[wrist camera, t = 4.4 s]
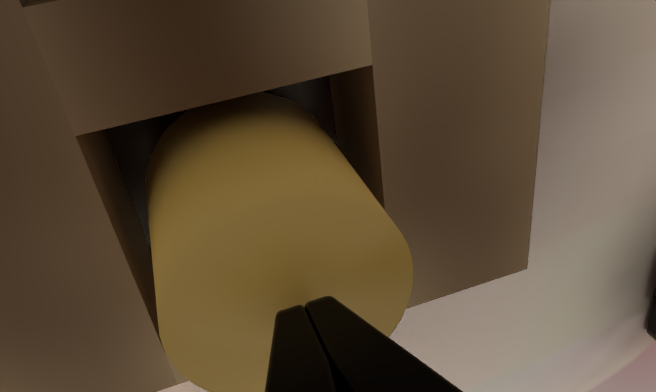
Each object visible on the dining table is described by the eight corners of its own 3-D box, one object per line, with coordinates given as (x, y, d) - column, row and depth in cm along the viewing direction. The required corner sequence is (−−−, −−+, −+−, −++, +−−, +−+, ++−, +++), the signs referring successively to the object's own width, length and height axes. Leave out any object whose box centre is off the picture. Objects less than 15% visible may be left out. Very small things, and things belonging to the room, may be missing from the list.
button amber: (322, 70, 11) (407, 161, 8) (344, 231, 14) (418, 353, 10) (117, 120, 11) (119, 241, 7) (175, 281, 13) (197, 430, 10)
